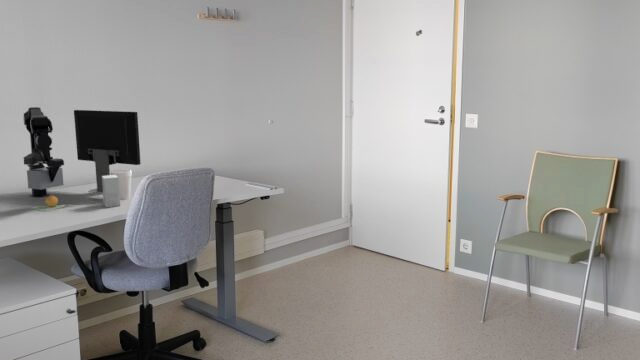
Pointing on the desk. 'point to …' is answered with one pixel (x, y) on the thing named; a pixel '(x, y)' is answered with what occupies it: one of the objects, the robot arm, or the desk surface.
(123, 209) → the desk surface
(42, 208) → the tape square
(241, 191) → the desk surface
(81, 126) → the computer monitor
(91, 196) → the desk surface
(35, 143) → the robot arm
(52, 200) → the ball
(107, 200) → the small box
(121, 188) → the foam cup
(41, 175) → the large grey box
